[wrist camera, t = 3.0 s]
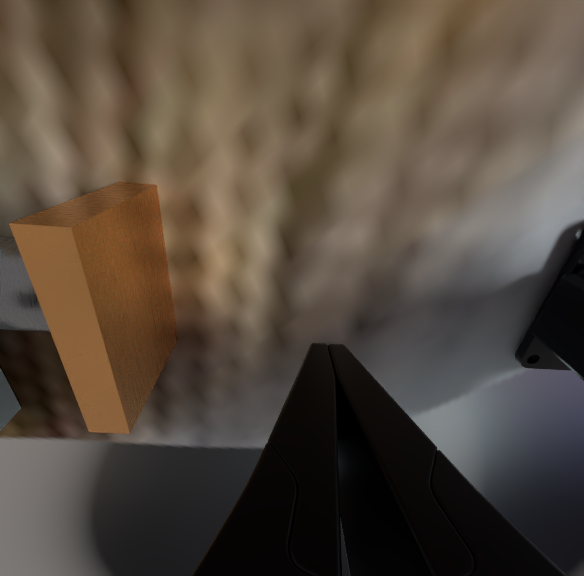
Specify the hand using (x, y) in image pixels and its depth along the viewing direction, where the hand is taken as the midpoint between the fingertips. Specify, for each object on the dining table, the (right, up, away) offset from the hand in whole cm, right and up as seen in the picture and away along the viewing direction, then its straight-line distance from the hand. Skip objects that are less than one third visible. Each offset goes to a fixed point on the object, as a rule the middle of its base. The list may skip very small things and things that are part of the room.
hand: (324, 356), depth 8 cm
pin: (-9, +3, +3) cm, 10 cm away
